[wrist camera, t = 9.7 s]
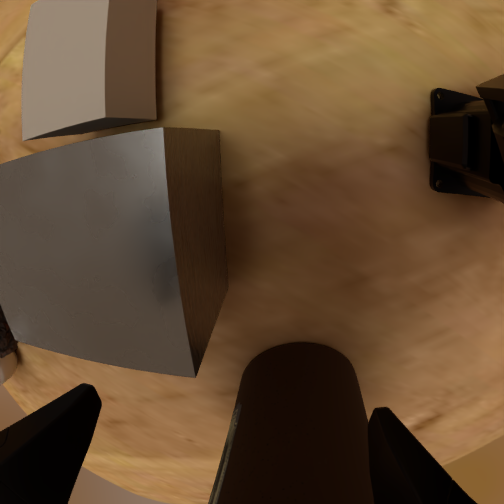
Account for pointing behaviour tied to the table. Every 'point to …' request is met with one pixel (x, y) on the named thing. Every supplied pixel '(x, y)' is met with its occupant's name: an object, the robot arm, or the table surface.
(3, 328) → the metal pipe
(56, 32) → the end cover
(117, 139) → the housing
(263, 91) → the table surface
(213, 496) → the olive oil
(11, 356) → the plastic bottle
